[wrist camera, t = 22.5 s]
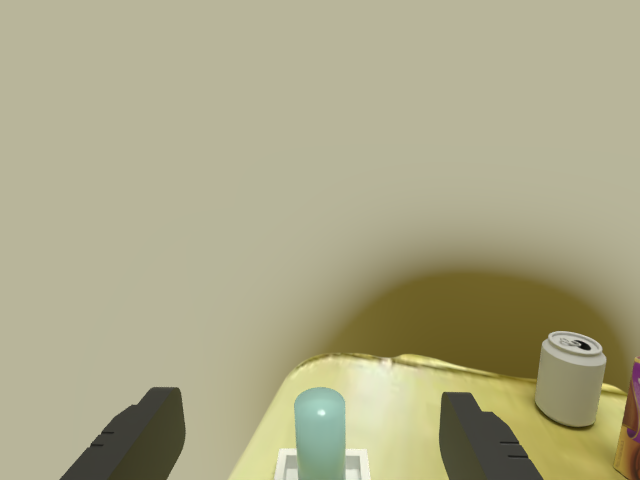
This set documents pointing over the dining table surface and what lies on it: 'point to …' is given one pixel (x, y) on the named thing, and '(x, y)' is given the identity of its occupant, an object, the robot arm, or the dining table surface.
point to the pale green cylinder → (320, 435)
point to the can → (570, 378)
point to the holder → (355, 465)
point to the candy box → (630, 430)
